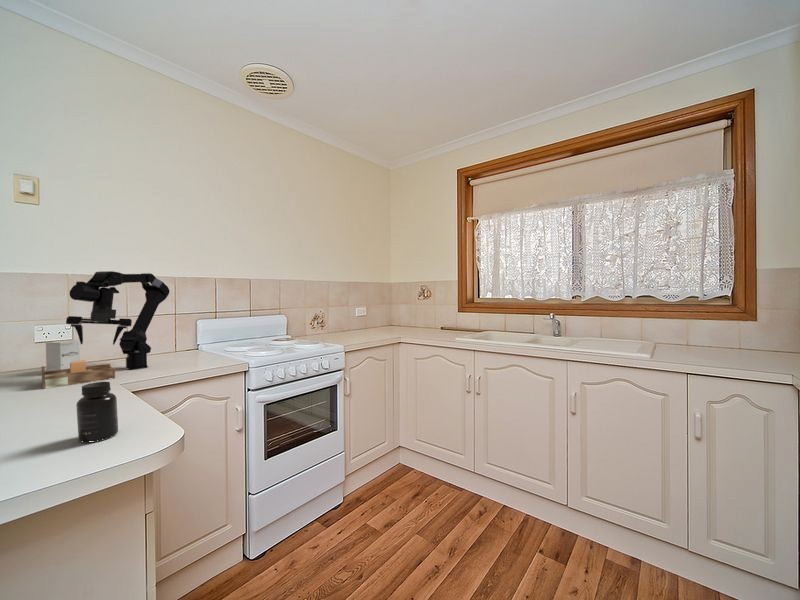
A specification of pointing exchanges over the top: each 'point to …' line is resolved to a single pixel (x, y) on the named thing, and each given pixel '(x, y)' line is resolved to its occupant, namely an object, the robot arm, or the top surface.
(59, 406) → the top surface
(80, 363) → the block
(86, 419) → the supplement bottle
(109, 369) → the brown flat box
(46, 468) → the top surface
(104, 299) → the robot arm
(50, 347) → the supplement box
